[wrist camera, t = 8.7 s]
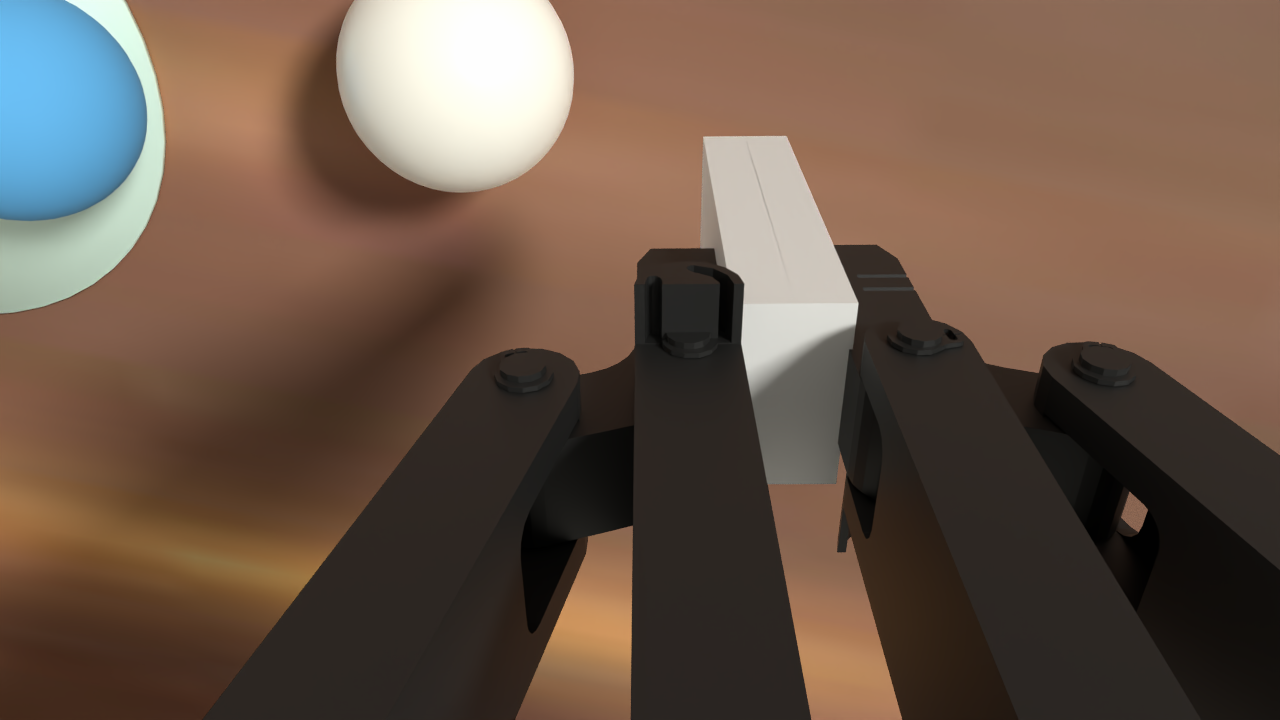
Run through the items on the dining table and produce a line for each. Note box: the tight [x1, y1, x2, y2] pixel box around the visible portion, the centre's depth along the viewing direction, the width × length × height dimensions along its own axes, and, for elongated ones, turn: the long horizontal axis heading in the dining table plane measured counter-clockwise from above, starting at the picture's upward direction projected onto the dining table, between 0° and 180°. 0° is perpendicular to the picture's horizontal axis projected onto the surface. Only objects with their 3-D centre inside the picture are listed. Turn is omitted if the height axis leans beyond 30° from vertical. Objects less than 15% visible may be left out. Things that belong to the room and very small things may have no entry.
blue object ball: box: [0, 0, 147, 221], centre depth 22 cm, size 6×6×6 cm
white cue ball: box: [336, 0, 574, 193], centre depth 22 cm, size 6×6×6 cm
